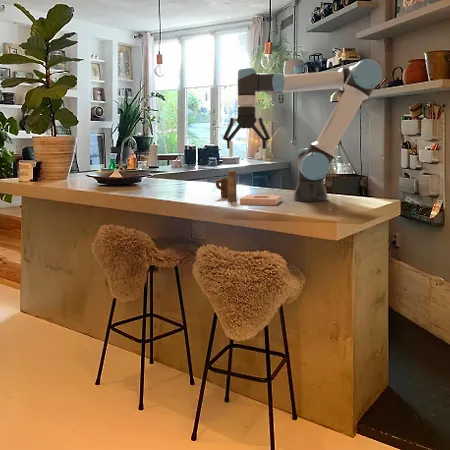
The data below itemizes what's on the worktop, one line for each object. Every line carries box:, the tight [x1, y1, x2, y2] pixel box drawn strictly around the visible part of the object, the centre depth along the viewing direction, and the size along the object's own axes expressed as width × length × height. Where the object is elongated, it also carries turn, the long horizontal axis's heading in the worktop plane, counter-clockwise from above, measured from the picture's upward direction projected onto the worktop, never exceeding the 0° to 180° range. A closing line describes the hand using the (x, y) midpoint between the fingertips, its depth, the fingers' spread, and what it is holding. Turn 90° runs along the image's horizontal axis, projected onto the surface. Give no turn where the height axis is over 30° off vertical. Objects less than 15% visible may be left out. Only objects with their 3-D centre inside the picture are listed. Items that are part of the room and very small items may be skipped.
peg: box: [226, 169, 238, 203], centre depth 240 cm, size 4×4×14 cm
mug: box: [215, 176, 228, 199], centre depth 254 cm, size 12×8×9 cm, turn 135°
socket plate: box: [239, 194, 283, 206], centre depth 235 cm, size 14×16×2 cm
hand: (246, 156), depth 228 cm, fingers open, 13 cm apart
